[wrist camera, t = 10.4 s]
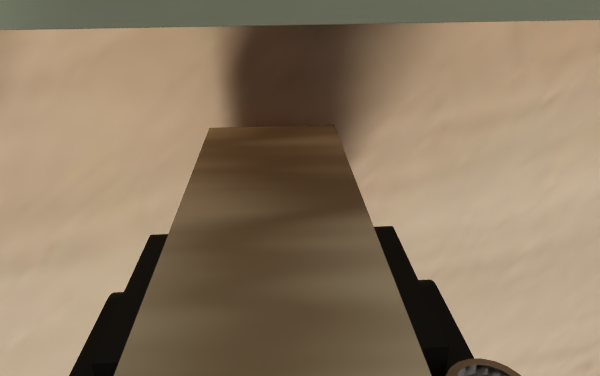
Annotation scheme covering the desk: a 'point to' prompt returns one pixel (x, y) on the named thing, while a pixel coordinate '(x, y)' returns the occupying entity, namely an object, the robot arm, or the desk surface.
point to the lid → (279, 12)
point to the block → (272, 269)
